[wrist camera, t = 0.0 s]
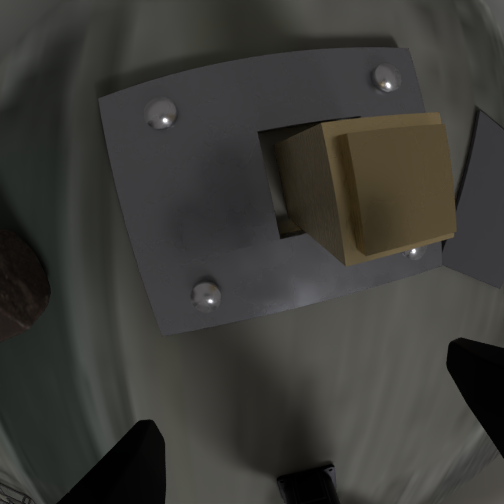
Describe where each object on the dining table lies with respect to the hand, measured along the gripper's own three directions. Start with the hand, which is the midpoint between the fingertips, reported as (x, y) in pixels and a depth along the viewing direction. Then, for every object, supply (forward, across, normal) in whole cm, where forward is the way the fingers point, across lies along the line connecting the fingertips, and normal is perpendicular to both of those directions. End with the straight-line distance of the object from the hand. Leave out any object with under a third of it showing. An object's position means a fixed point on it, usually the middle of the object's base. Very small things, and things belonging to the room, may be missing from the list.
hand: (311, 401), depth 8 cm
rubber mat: (+15, -22, 0) cm, 26 cm away
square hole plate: (+15, -3, -5) cm, 16 cm away
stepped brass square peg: (+15, -5, -5) cm, 16 cm away
